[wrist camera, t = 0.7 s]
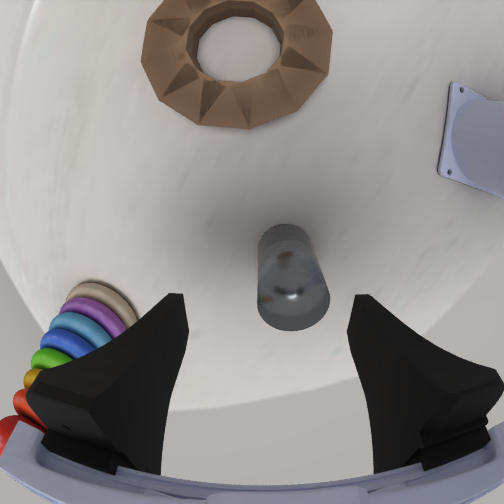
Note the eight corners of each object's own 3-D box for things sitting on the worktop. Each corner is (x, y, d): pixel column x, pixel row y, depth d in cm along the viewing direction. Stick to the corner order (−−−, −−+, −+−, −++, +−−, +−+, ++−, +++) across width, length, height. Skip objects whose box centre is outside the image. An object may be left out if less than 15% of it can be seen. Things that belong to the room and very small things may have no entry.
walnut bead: (326, -3, 13) (336, -19, 11) (310, 136, 18) (319, 139, 16) (171, -13, 13) (159, -29, 10) (151, 122, 18) (134, 124, 15)
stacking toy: (77, 264, 23) (-49, 419, 6) (150, 304, 25) (65, 502, 8) (68, 319, 26) (-17, 455, 9) (131, 354, 28) (70, 510, 11)
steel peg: (315, 227, 21) (338, 275, 15) (305, 274, 23) (320, 333, 17) (261, 221, 21) (262, 267, 15) (255, 269, 23) (253, 328, 16)
